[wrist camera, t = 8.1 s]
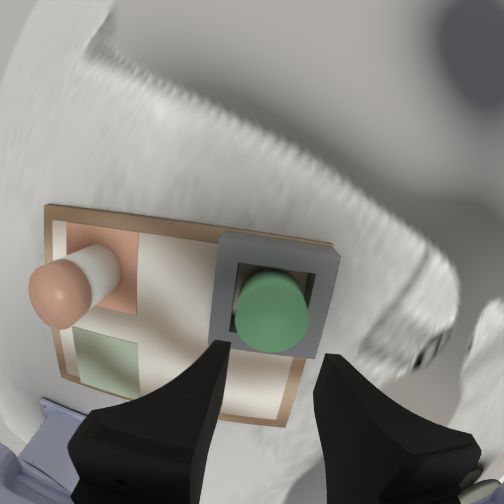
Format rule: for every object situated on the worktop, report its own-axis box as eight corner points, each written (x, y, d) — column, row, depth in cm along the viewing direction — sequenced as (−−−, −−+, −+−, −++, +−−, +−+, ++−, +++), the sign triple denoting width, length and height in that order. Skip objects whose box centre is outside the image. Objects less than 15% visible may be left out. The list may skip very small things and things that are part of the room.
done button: (295, 330, 19) (300, 356, 16) (235, 322, 19) (230, 347, 16) (308, 273, 18) (316, 292, 15) (243, 264, 18) (240, 281, 15)
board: (284, 422, 24) (285, 429, 23) (64, 374, 23) (60, 378, 23) (331, 243, 20) (334, 246, 19) (48, 204, 20) (42, 205, 19)
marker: (122, 297, 20) (81, 335, 14) (80, 289, 20) (33, 322, 14) (121, 246, 19) (75, 270, 14) (77, 241, 19) (25, 262, 13)
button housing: (309, 340, 21) (314, 358, 18) (213, 327, 21) (207, 344, 18) (331, 246, 19) (340, 256, 17) (224, 230, 19) (219, 237, 17)
